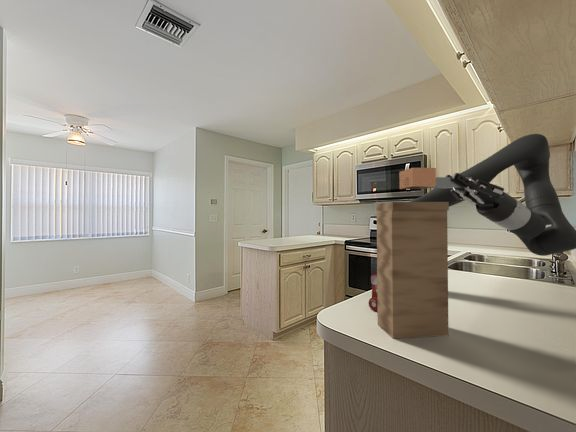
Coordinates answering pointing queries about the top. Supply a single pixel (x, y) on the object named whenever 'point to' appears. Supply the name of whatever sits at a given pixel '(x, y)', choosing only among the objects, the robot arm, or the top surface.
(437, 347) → the top surface
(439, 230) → the walnut pedestal
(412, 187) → the orange and gray block
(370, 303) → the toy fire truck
